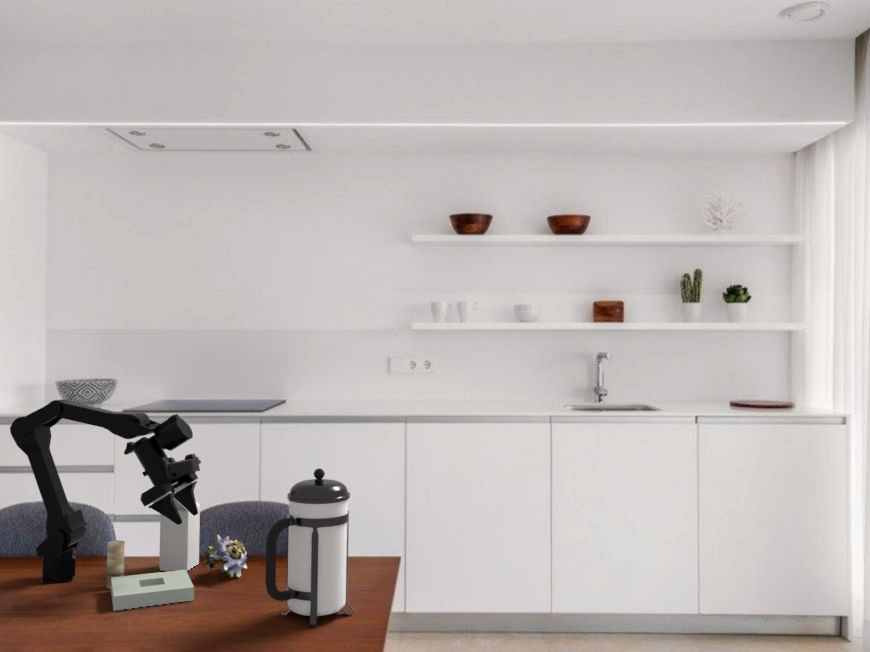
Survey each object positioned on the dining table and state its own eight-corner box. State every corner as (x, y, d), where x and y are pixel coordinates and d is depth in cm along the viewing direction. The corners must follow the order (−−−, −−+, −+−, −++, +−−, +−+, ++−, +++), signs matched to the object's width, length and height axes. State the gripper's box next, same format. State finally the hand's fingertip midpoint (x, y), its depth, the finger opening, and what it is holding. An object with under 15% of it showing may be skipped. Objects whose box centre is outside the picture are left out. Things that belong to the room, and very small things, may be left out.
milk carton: (199, 565, 192) (200, 488, 193) (187, 573, 185) (188, 494, 186) (171, 564, 193) (173, 488, 193) (158, 572, 186) (160, 493, 186)
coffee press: (284, 601, 166) (286, 462, 167) (357, 603, 165) (359, 463, 166) (263, 631, 149) (266, 475, 149) (345, 633, 148) (348, 477, 149)
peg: (106, 590, 172) (107, 545, 172) (105, 585, 175) (106, 541, 176) (124, 588, 174) (125, 543, 174) (123, 583, 177) (124, 539, 177)
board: (113, 611, 159) (113, 596, 159) (110, 591, 171) (111, 577, 171) (193, 601, 165) (194, 587, 165) (185, 582, 178) (185, 569, 178)
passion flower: (236, 600, 182) (233, 568, 175) (193, 589, 183) (189, 557, 177) (255, 563, 191) (253, 531, 184) (215, 553, 193) (211, 520, 186)
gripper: (166, 448, 169) (202, 510, 168) (199, 438, 187) (231, 493, 186) (124, 474, 169) (159, 536, 169) (161, 461, 188) (193, 516, 187)
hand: (188, 519), depth 178 cm, fingers open, 9 cm apart
